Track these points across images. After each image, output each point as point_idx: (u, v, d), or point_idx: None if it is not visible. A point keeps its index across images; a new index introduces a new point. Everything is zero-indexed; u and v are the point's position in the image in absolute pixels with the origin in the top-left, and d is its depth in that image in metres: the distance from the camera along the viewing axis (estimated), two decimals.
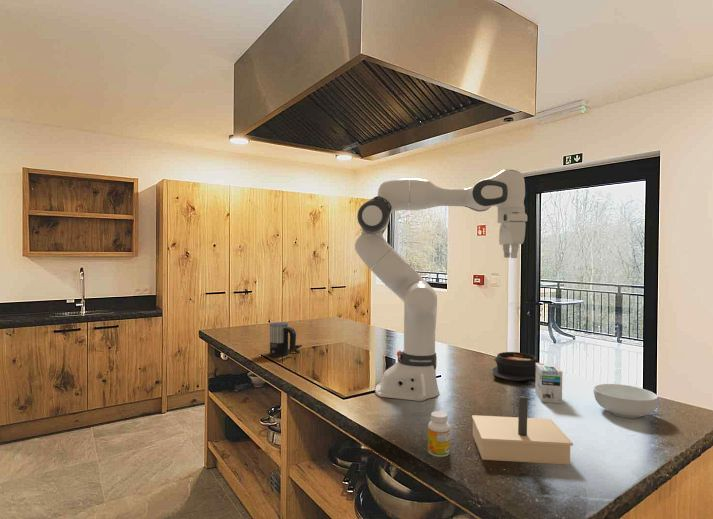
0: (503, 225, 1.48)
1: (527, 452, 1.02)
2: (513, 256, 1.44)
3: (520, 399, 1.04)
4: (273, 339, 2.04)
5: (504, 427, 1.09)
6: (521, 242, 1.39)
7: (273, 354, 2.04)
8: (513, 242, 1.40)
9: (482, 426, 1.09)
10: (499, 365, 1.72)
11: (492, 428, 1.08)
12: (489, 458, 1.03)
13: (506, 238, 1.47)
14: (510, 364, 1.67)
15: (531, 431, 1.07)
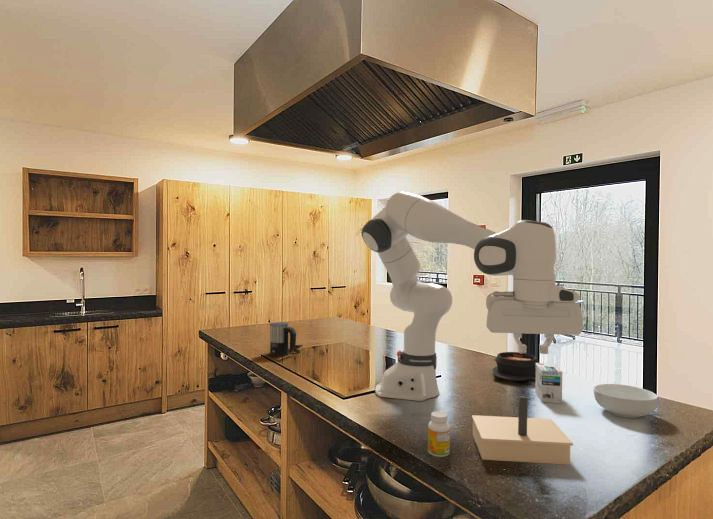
0: (544, 305, 0.94)
1: (527, 452, 1.02)
2: None
3: (520, 399, 1.04)
4: (273, 339, 2.04)
5: (504, 427, 1.09)
6: None
7: (273, 354, 2.04)
8: (580, 332, 0.95)
9: (482, 426, 1.09)
10: (499, 365, 1.72)
11: (492, 428, 1.08)
12: (489, 458, 1.03)
13: (543, 325, 0.95)
14: (510, 364, 1.67)
15: (531, 431, 1.07)
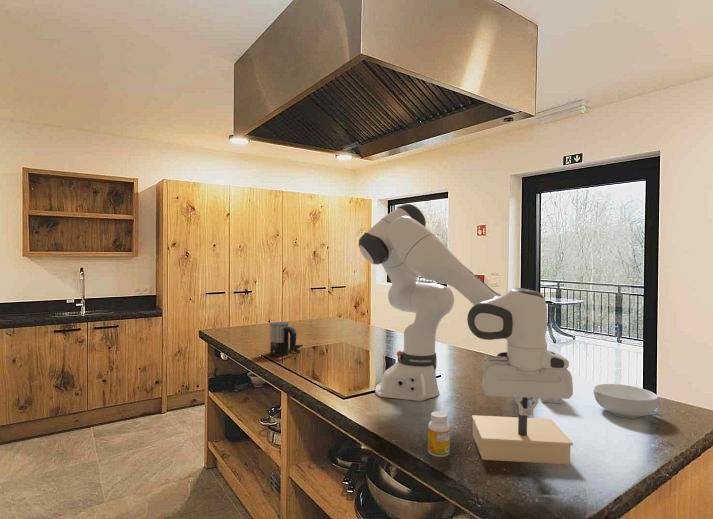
0: (536, 372, 1.00)
1: (527, 452, 1.02)
2: None
3: None
4: (273, 339, 2.04)
5: (504, 427, 1.09)
6: None
7: (273, 354, 2.05)
8: None
9: (482, 426, 1.09)
10: None
11: (492, 428, 1.08)
12: (489, 458, 1.03)
13: (536, 389, 1.01)
14: None
15: (531, 430, 1.07)
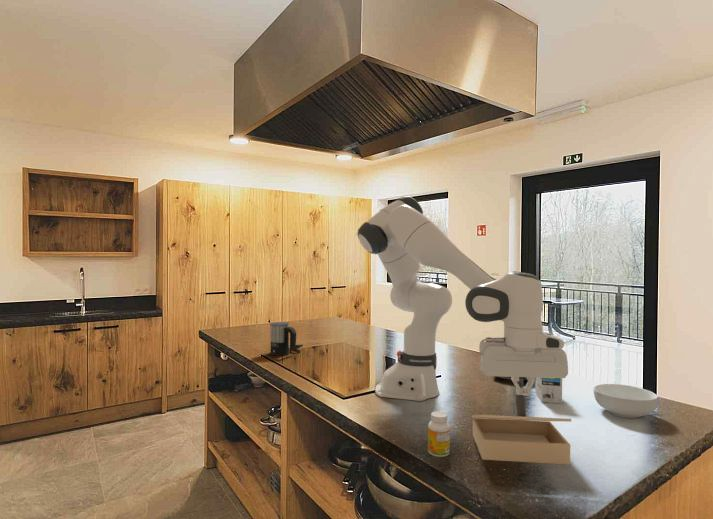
0: (532, 352, 1.03)
1: (527, 452, 1.02)
2: None
3: None
4: (274, 339, 2.05)
5: None
6: None
7: (273, 354, 2.05)
8: (565, 376, 1.03)
9: None
10: None
11: None
12: (489, 458, 1.03)
13: (532, 369, 1.04)
14: None
15: None
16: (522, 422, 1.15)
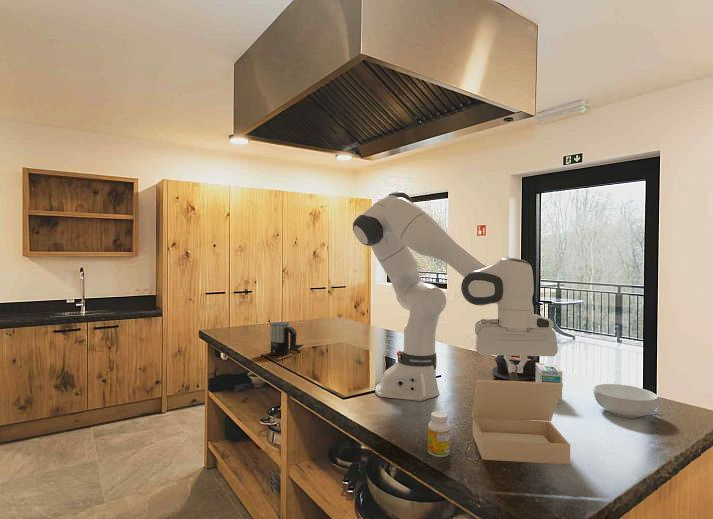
0: (524, 331, 1.10)
1: (527, 452, 1.02)
2: None
3: None
4: (274, 339, 2.05)
5: None
6: None
7: (273, 353, 2.05)
8: (555, 354, 1.11)
9: None
10: (499, 365, 1.72)
11: None
12: (489, 458, 1.03)
13: (524, 348, 1.11)
14: None
15: None
16: (522, 422, 1.15)
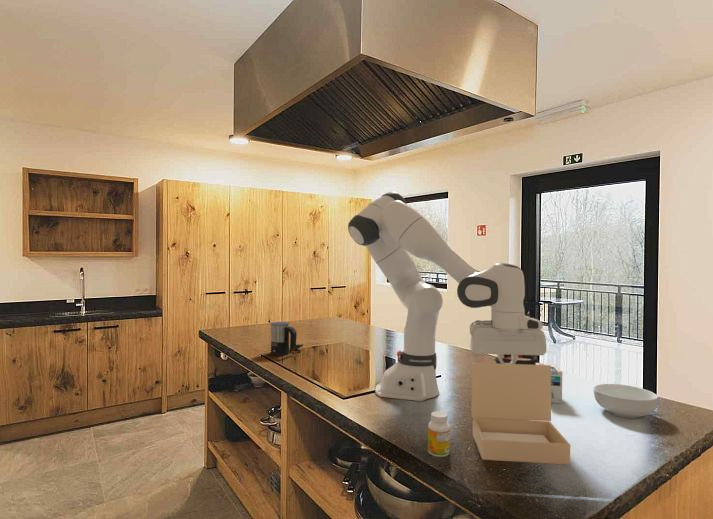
0: (515, 332, 1.18)
1: (527, 452, 1.02)
2: None
3: None
4: (274, 339, 2.05)
5: None
6: None
7: (273, 353, 2.05)
8: (544, 353, 1.19)
9: None
10: None
11: None
12: (489, 458, 1.03)
13: (515, 347, 1.19)
14: None
15: None
16: (522, 422, 1.15)
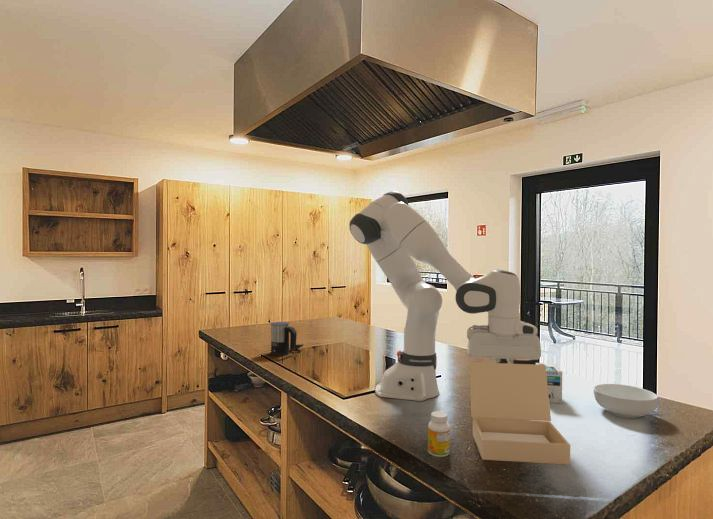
0: (511, 337, 1.22)
1: (527, 452, 1.02)
2: None
3: None
4: (274, 339, 2.05)
5: None
6: None
7: (274, 353, 2.06)
8: None
9: None
10: None
11: None
12: (489, 458, 1.03)
13: (511, 352, 1.23)
14: None
15: None
16: (522, 422, 1.15)
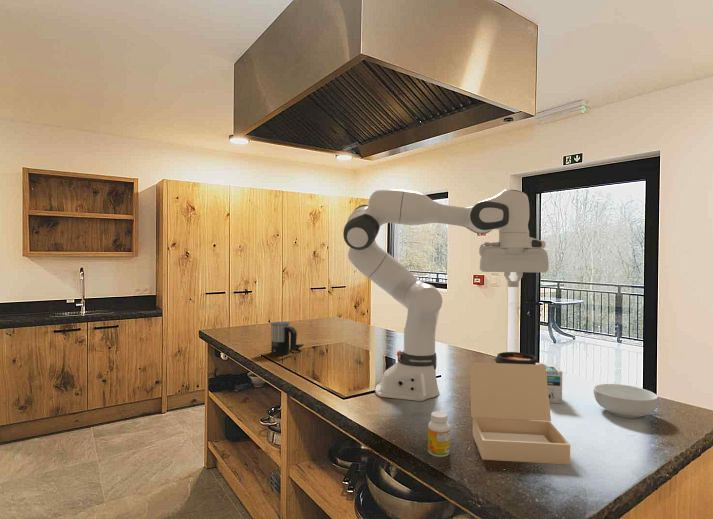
0: (520, 251, 1.32)
1: (527, 452, 1.02)
2: None
3: None
4: (274, 338, 2.06)
5: None
6: None
7: (274, 353, 2.06)
8: (546, 271, 1.32)
9: None
10: None
11: None
12: (489, 458, 1.03)
13: (520, 265, 1.33)
14: None
15: None
16: (522, 422, 1.15)
